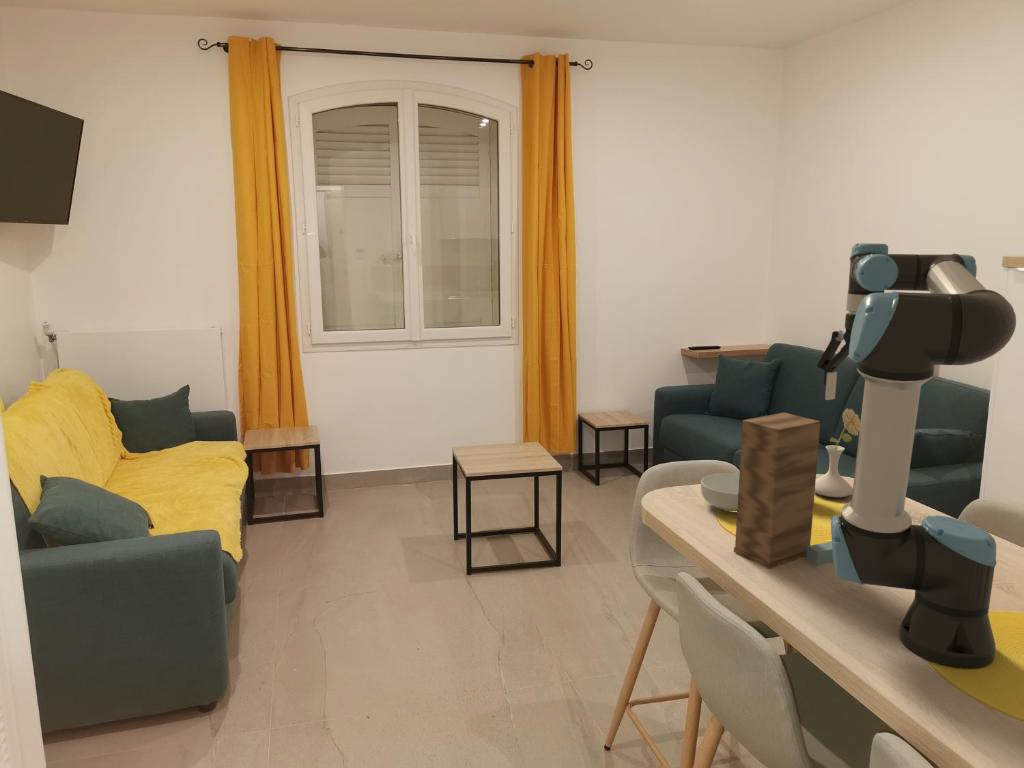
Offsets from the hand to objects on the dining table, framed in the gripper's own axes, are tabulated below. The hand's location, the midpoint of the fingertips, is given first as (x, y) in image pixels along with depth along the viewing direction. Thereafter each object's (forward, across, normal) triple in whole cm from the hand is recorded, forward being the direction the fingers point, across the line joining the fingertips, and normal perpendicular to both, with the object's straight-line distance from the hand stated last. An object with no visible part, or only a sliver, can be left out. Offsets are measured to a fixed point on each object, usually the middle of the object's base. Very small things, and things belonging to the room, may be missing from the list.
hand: (855, 404), depth 177 cm
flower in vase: (+35, +24, -30) cm, 52 cm away
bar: (+35, -4, +2) cm, 35 cm away
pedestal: (+35, +6, +18) cm, 40 cm away
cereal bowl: (+35, +32, +3) cm, 47 cm away
